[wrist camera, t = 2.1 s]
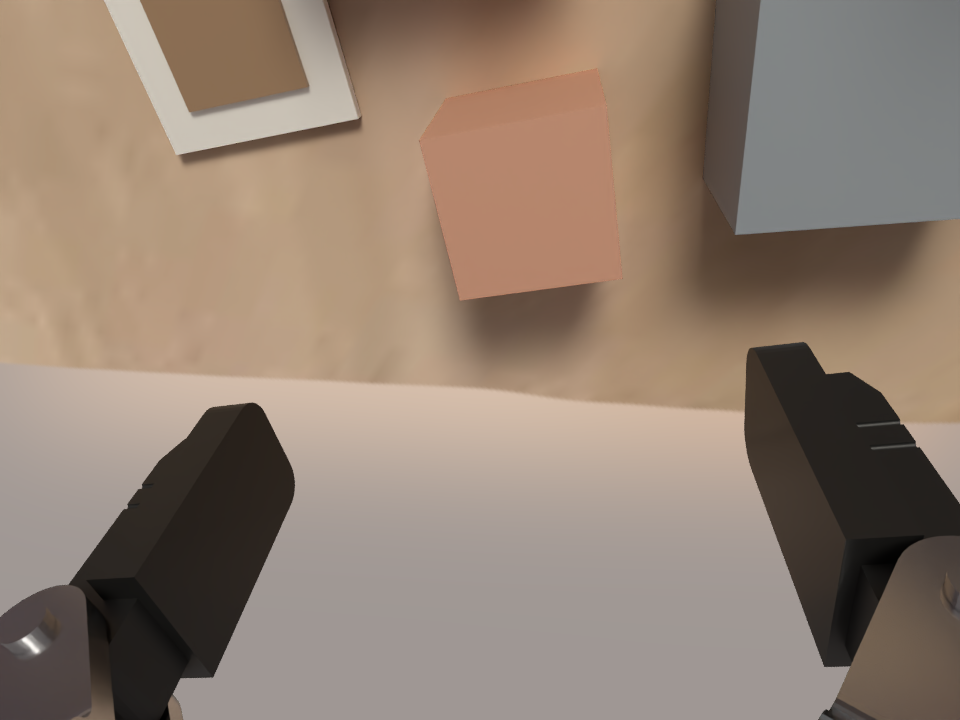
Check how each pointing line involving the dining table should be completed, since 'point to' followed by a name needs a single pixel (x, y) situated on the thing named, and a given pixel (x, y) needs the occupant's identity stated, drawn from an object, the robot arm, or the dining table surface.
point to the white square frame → (236, 67)
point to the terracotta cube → (525, 186)
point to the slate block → (834, 113)
